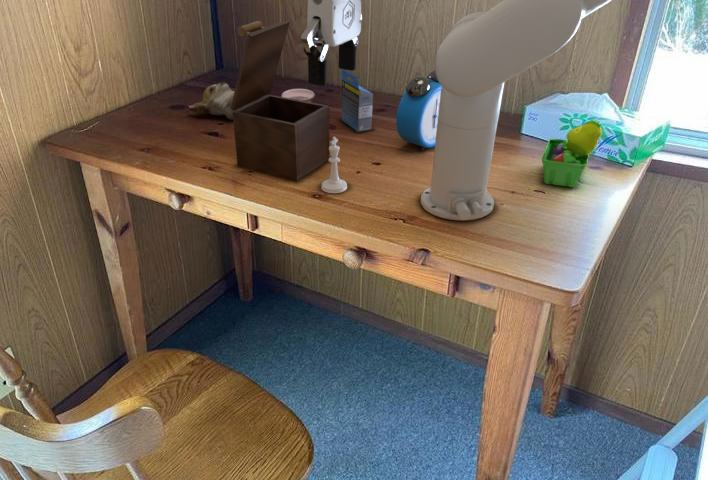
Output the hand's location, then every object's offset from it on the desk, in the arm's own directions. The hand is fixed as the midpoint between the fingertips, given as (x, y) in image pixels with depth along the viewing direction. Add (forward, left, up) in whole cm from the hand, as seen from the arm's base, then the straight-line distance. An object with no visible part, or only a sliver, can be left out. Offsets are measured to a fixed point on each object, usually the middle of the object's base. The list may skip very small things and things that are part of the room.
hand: (332, 76), depth 104 cm
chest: (+12, +9, -21) cm, 26 cm away
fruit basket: (0, -44, -21) cm, 49 cm away
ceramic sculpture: (+43, +24, -21) cm, 53 cm away
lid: (+15, +12, -2) cm, 19 cm away
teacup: (+37, +5, -21) cm, 43 cm away
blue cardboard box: (+32, -8, -21) cm, 39 cm away
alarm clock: (+19, -21, -21) cm, 35 cm away
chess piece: (0, 0, -21) cm, 21 cm away
